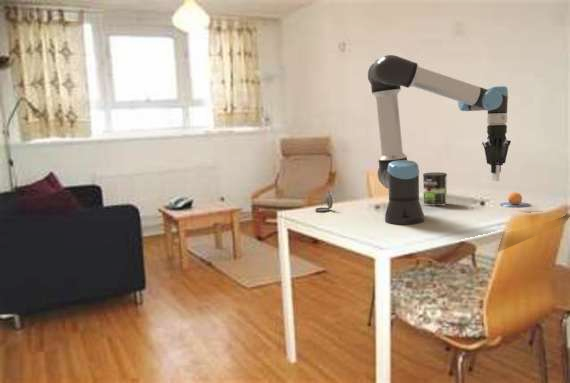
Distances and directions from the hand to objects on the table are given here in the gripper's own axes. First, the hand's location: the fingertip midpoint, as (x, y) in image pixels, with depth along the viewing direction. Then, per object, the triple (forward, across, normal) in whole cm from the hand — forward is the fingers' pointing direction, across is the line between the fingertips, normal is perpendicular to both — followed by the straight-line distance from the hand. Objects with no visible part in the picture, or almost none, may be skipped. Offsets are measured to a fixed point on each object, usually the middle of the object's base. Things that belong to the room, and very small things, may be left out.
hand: (495, 180), depth 207 cm
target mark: (+11, +11, 0) cm, 15 cm away
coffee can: (+12, -15, +21) cm, 29 cm away
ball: (+9, +10, 0) cm, 13 cm away
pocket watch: (+13, -63, +37) cm, 74 cm away
